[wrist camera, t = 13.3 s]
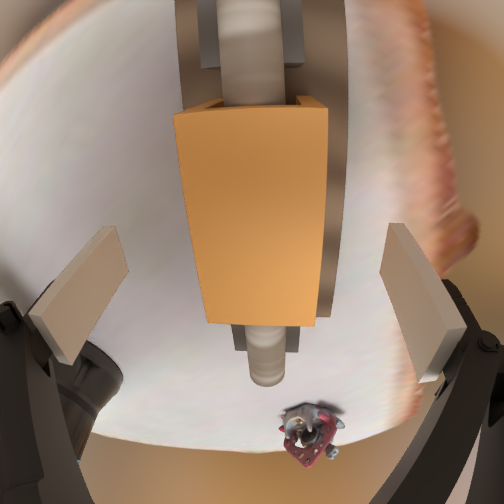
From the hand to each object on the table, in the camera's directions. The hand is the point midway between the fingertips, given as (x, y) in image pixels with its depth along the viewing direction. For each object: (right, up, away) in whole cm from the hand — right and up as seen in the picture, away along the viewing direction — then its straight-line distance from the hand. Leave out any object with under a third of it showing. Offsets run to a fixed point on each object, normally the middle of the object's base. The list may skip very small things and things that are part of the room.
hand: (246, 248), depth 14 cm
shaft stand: (+2, +7, +10) cm, 13 cm away
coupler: (+1, +6, +8) cm, 10 cm away
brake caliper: (+10, -28, +32) cm, 44 cm away
